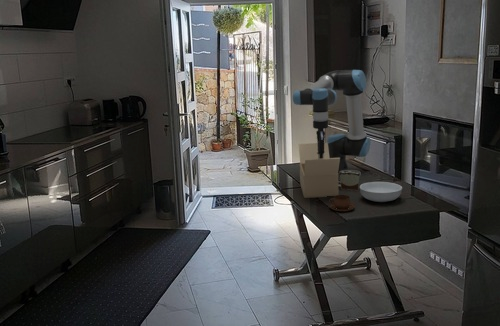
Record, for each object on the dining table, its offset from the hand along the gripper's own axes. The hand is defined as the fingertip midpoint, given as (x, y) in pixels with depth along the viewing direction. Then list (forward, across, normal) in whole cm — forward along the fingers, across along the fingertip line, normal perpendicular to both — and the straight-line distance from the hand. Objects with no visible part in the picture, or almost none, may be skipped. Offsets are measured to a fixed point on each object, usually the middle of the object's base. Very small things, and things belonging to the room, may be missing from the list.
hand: (321, 165), depth 245 cm
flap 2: (+1, 0, 0) cm, 1 cm away
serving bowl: (+18, +4, +29) cm, 35 cm away
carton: (+19, -17, 0) cm, 25 cm away
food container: (+19, -18, +18) cm, 31 cm away
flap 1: (+2, -37, 0) cm, 37 cm away
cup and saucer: (+18, +17, +8) cm, 26 cm away
